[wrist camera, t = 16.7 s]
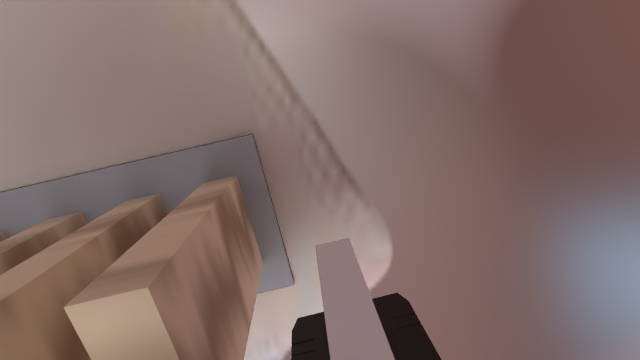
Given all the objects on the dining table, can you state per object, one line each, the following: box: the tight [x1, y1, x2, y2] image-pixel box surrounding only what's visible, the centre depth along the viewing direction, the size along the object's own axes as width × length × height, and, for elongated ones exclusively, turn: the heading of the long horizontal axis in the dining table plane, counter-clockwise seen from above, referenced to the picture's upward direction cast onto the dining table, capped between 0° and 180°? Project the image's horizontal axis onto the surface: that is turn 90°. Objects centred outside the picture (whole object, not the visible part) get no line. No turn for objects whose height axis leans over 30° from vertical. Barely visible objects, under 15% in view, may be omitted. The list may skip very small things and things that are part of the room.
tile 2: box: [0, 194, 167, 360], centre depth 16 cm, size 7×2×13 cm, turn 12°
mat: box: [0, 134, 294, 294], centre depth 22 cm, size 12×32×1 cm, turn 102°
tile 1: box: [63, 176, 263, 360], centre depth 16 cm, size 7×2×13 cm, turn 12°
